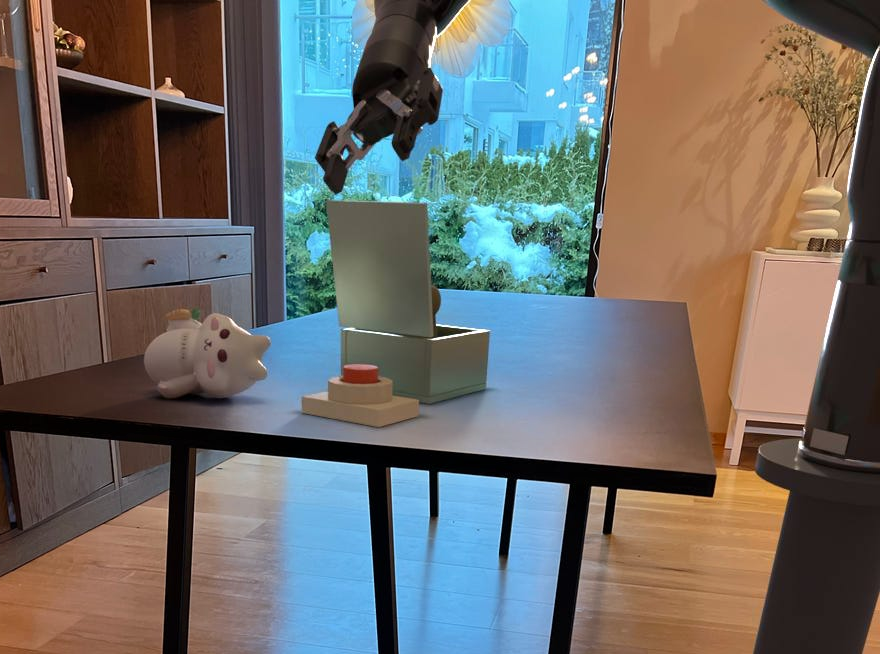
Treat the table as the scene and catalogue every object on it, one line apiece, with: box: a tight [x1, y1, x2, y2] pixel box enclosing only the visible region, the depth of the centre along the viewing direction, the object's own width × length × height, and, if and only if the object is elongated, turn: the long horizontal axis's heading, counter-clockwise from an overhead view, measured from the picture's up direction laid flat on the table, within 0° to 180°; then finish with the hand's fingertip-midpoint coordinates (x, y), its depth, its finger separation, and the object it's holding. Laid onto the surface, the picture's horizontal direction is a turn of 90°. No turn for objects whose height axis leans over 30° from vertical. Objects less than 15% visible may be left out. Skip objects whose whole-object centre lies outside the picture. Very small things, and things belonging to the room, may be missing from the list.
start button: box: [343, 364, 378, 384], centre depth 92 cm, size 4×4×2 cm
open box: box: [340, 324, 491, 405], centre depth 106 cm, size 13×13×7 cm
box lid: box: [325, 199, 434, 337], centre depth 96 cm, size 13×13×1 cm
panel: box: [301, 375, 420, 428], centre depth 93 cm, size 10×7×4 cm
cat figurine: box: [143, 307, 272, 399], centre depth 98 cm, size 10×8×15 cm
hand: (365, 170), depth 91 cm, fingers open, 8 cm apart
